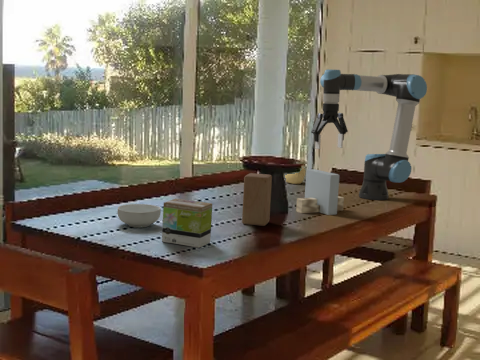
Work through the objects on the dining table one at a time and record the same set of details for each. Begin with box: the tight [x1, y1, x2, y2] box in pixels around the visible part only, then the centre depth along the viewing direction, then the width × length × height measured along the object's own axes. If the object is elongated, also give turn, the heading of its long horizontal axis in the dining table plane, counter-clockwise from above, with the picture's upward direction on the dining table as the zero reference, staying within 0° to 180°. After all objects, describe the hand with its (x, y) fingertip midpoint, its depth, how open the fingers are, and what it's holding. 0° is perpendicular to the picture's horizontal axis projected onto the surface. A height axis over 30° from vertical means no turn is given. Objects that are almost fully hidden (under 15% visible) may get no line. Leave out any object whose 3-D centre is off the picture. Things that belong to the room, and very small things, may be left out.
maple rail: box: [295, 195, 345, 214], centre depth 336 cm, size 24×4×6 cm, turn 122°
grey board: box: [304, 168, 340, 216], centre depth 335 cm, size 18×5×18 cm, turn 31°
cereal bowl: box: [117, 203, 162, 228], centre depth 285 cm, size 17×17×7 cm
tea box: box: [161, 198, 213, 249], centre depth 260 cm, size 15×10×15 cm, turn 69°
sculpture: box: [285, 167, 307, 185], centre depth 418 cm, size 12×12×11 cm
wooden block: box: [241, 172, 273, 227], centre depth 300 cm, size 10×10×20 cm
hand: (328, 148), depth 345 cm, fingers open, 13 cm apart
